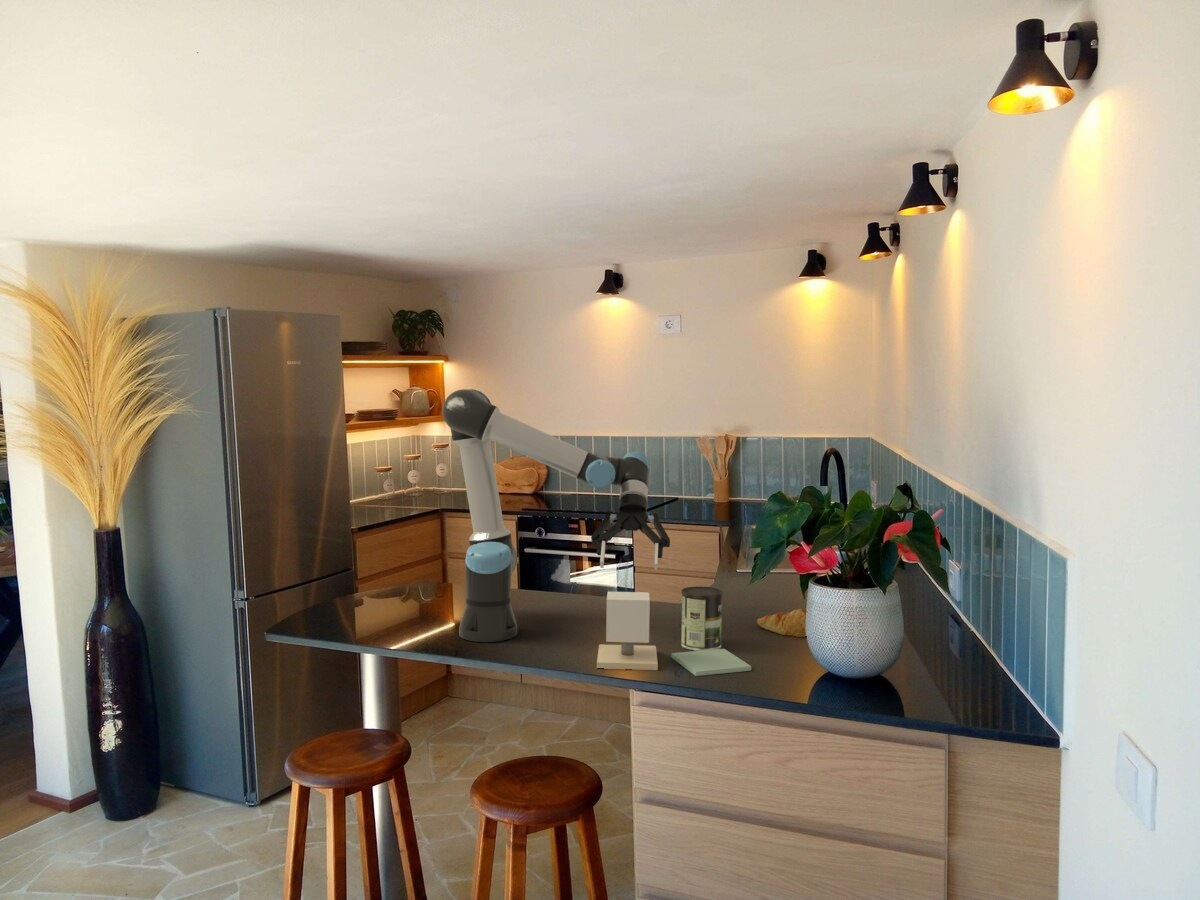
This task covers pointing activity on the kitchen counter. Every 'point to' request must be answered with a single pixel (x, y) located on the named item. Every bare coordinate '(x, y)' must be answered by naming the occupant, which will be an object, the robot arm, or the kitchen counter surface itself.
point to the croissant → (785, 623)
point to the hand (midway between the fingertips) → (628, 566)
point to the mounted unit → (627, 633)
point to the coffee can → (701, 618)
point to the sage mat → (710, 662)
